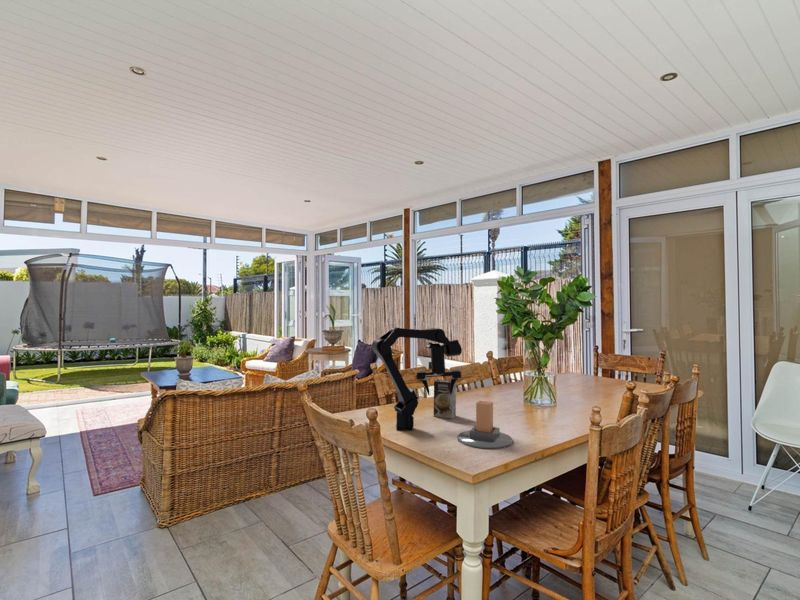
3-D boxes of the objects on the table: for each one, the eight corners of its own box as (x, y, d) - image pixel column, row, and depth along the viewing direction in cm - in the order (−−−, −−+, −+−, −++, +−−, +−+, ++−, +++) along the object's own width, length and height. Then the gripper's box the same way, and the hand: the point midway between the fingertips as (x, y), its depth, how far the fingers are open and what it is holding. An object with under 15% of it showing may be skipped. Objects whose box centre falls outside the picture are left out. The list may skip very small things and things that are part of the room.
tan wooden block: (476, 438, 160) (476, 403, 161) (479, 434, 165) (480, 400, 165) (489, 440, 158) (489, 404, 158) (492, 436, 163) (492, 401, 163)
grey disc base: (450, 443, 157) (450, 432, 157) (467, 429, 175) (467, 419, 175) (505, 452, 148) (505, 440, 148) (517, 436, 166) (517, 426, 166)
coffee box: (433, 416, 196) (433, 381, 196) (437, 413, 202) (437, 379, 202) (452, 418, 192) (452, 382, 192) (456, 415, 198) (456, 380, 198)
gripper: (459, 354, 190) (461, 389, 190) (417, 356, 192) (419, 391, 192) (460, 358, 179) (462, 395, 179) (415, 359, 181) (417, 397, 181)
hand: (439, 394), depth 183 cm, fingers open, 9 cm apart
